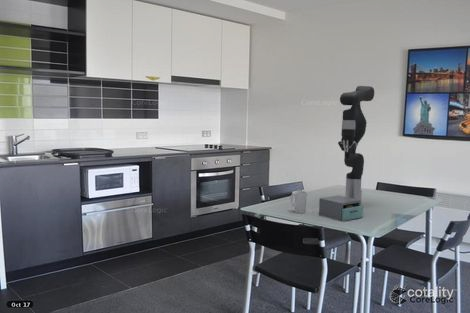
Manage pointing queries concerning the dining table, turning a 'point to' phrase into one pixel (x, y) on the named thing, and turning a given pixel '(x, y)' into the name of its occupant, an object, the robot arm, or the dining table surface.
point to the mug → (299, 201)
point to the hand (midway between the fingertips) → (347, 158)
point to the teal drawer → (352, 213)
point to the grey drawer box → (335, 206)
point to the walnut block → (347, 206)
